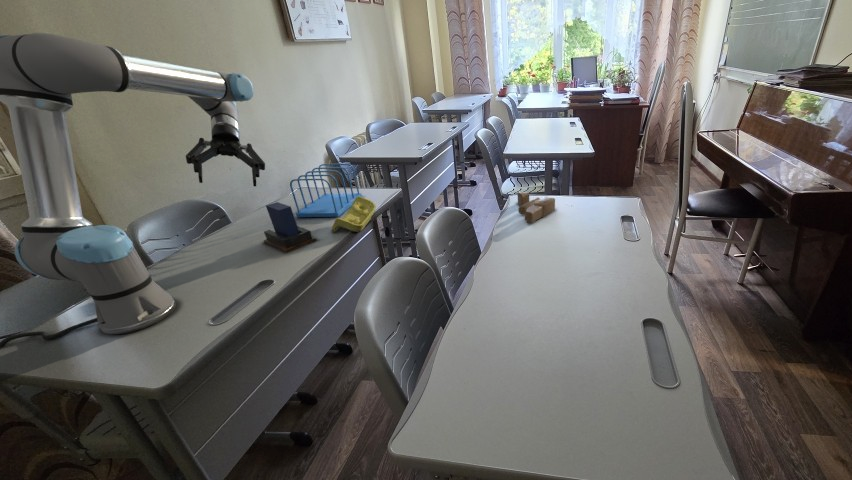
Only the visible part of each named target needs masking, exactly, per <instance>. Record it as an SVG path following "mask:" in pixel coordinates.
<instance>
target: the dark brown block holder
mask: <svg viewBox="0 0 852 480" xmlns="http://www.w3.org/2000/svg"><path fill="white" fill-rule="evenodd" d="M297 227H298V230H299V234H297V235H294V236H291V237H289V238H288V237H286V236H283V235H281V234H279V233H276V232H275V230H271V229H267V230H264V231H263V234H264V236H265V239H263V243H264V244H266V245H269V246H271V247H273V248H275V249H277V250H279V251H283V252H284V253H288V252H292V251H294V250H296V249H299V248H301V247H304V246H306V245H308V244H311V243H314V242H316V241H317V238H316V237H314V236H312V232H311V230H310V229H307V228H304V227H301V226H300V225H299V226H298V225H297Z"/></svg>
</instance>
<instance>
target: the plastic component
mask: <svg viewBox="0 0 852 480" xmlns="http://www.w3.org/2000/svg"><path fill="white" fill-rule="evenodd" d="M376 208H377V205H376V204H375V202H373V201H372V200H370V199H368V198H365V197H363V196H362V197H360V196H358V197H356V199H355V200H354V202H353V204H352V206H350V207H349V208H348V209H347V212H346V213H345V215H344V216H343V217H342V218H341V217H336V218H335V220H334V222H333V224H332V227H331V232H333V233H335V232H337V231H338V230H339V229H340V227H341V228H343V229H346V230H348V231H351V232H354V233H360V232H363V229H364V228H365V227H366V226H367V225H368V224H369V222H370V221H371V219H372V216H373V215H374V213H375V211H376Z"/></svg>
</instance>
